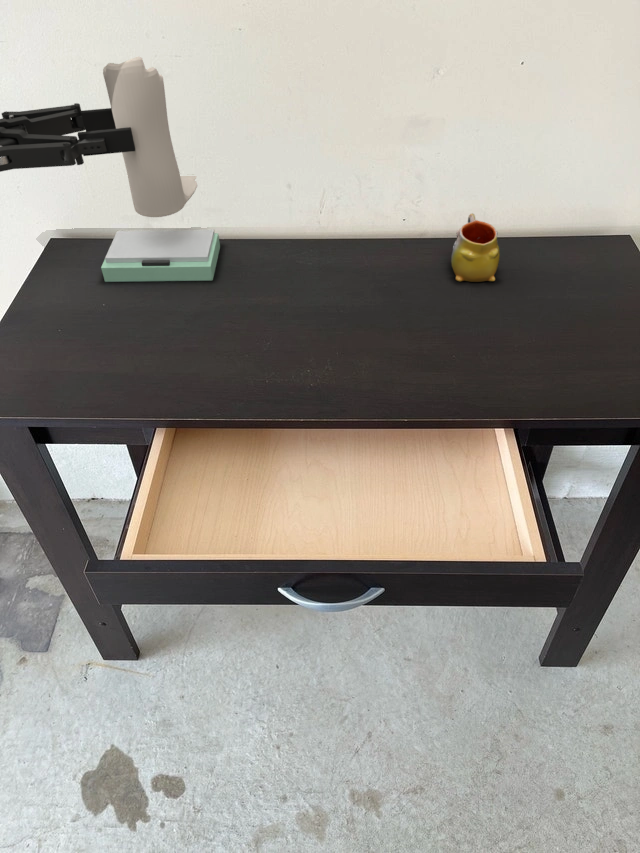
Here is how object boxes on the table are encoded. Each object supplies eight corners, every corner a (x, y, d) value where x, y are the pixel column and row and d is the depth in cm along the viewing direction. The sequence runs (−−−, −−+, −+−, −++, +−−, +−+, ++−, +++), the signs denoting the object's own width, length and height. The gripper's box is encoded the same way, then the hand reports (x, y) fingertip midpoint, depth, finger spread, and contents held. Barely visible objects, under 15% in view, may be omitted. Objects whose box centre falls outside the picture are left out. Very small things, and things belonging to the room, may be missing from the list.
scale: (104, 281, 97) (99, 262, 95) (119, 248, 104) (114, 229, 102) (212, 280, 97) (209, 261, 94) (220, 246, 104) (217, 228, 101)
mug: (498, 286, 94) (506, 244, 89) (450, 284, 95) (455, 242, 90) (492, 243, 103) (499, 203, 98) (448, 241, 103) (453, 201, 98)
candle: (207, 176, 101) (186, 28, 86) (174, 219, 91) (144, 62, 77) (163, 172, 102) (135, 25, 88) (126, 215, 92) (87, 58, 78)
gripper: (-26, 144, 93) (139, 128, 96) (-54, 209, 79) (139, 188, 82) (-49, 87, 88) (127, 72, 90) (-82, 146, 74) (125, 127, 77)
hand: (132, 128), depth 86 cm, fingers closed on candle, 7 cm apart
